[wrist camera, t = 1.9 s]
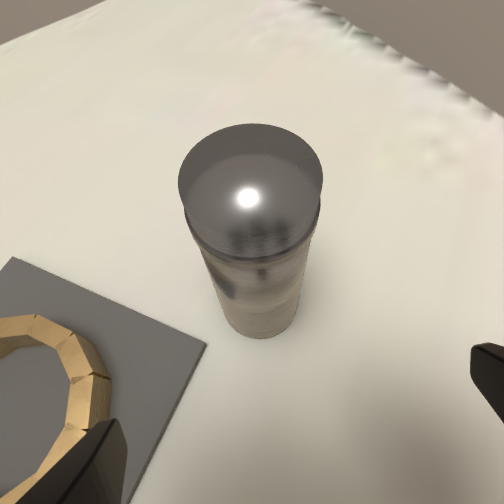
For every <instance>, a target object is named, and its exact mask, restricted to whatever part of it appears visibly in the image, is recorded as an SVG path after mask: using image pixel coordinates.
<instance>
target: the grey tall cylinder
mask: <svg viewBox="0 0 504 504" xmlns="http://www.w3.org/2000/svg"><path fill="white" fill-rule="evenodd" d="M322 183H323V172H322V167H321V164H320V161H319V159H318V157H317V155H316V153H315V152H314V151H313V149H312V148H311V147H310V146H309V145H308V144H307V143H306V142H305V141H304V140H303V139H301V138H300V137H299V136H297V135H295V134H294V133H292V132H290V131H288V130H285V129H283V128H280V127H276V126H272V125H266V124H241V125H234V126H231V127H227V128H224V129H221V130H218V131H216V132H214V133H212V134H210V135H209V136H207V137H205V138H204V139H202V140H201V141H200V142H199V143H197V144H196V145H195V146H194V147H193V148H192V149H191V151H190V152H189V153H188V154H187V156H186V157H185V159H184V161H183V163H182V165H181V168H180V172H179V176H178V189H179V194H180V198H181V200H182V203H183V206H184V212H185V217H186V221H187V224H188V226H189V229H190V231H191V234H192V236H193V238H194V240H195V242H196V243H197V245H198V246H199V248H200V251H201V253H202V256H203V259H204V261H205V264H206V266H207V269H208V272H209V274H210V277H211V280H212V282H213V285H214V288H215V290H216V293H217V296H218V298H219V301H220V303H221V306H222V309H223V311H224V314H225V317H226V319H227V321H228V322H229V324H230V325H231V326H232V328H234V329H235V330H236V331H237V332H238V333H240V334H242V335H244V336H246V337H249V338H254V339H266V338H270V337H273V336H276V335H278V334H279V333H281V332H283V331H284V330H285V329H286V328H287V327H288V326H289V325H290V323H291V322H292V320H293V318H294V316H295V313H296V308H297V304H298V299H299V294H300V289H301V285H302V280H303V275H304V270H305V266H306V261H307V256H308V251H309V247H310V242H311V238H312V236H313V234H314V232H315V229H316V226H317V221H318V217H319V212H320V194H321V190H322Z"/></svg>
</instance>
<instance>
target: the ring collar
mask: <svg viewBox="0 0 504 504" xmlns="http://www.w3.org/2000/svg"><path fill="white" fill-rule="evenodd" d="M43 345H49V346H51V347H53V348H54V349H56V350H57V352H58V354H59V357H60V359H61V361H62V363H63V366H64V368H65V370H66V372H67V375H68V377H69V379H70V381H71V383H70V391H69V398H68V406H67V414H66V421H65V427H64V428H63V430H62V432H61V433H60V435H59V437H58V438H57V440H56V442H55V443H54V445H53V446H52V448H51V450H50V451H49V453H48V455H47V456H46V458H45V460H44V461H43V463H42V464H41V466H40V468H39V469H38V471H37V472H36V473H35V474H33V475H32V476H31V477H29V478H28V479H26V480H25V481H24V482H22V483H21V484H20V485H18V486H17V487H15V488H14V489H13V490H11V491H10V492H8V493H7V494H6V495H4V496H3V497H2V498H0V504H15V503H16V502H17V501H18V500H19V499H20V498H21V497H22V496H23V495H24V494H25V493H26V492H27V491H28V490H29V489H30V488H31V487H32V486H33V485H34V484H35V483H36V482H37V481H38V480H39V479H40V478H41V477H42V476H43V475H44V474H45V473H46V472H47V471H48V470H50V469H51V468H52V467H53V466H54V465H55V464H56V463H57V462H58V461H59V460H60V459H61V458H62V457H63V456H64V455H65V454H66V453H67V452H68V451H69V450H70V449H71V448H72V447H73V446H74V445H75V444H76V443H77V442H78V441H79V440H80V439H81V438H82V437H83V436H84V435H85V434H86V433H87V432H88V431H89V430H90V429H91V428H92V427H93V426H94V425H96V424H97V423H98V422H99V421H101V420H105V419H109V414H110V402H111V389H112V381H110V379H111V376H110V374H109V372H108V370H107V368H106V366H105V364H104V362H103V360H102V358H101V356H100V354H99V352H98V350H97V348H96V346H95V344H94V343H92V341H90V340H88V339H86V338H84V337H82V336H80V335H78V334H76V333H75V332H73V331H71V330H69V329H66V328H64V327H62V326H60V325H58V324H56V323H54V322H52V321H50V320H48V319H46V318H44V317H42V316H40V315H36V314H31V315H22V316H14V317H5V318H0V359H2V358H3V357H5V356H7V355H8V354H10V353H11V352H13V351H15V350H16V349H18V348H26V347H34V346H43Z"/></svg>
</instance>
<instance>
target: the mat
mask: <svg viewBox="0 0 504 504" xmlns="http://www.w3.org/2000/svg"><path fill="white" fill-rule="evenodd" d="M31 314H36V315H40V316H42V317H44V318H46V319H48V320H50V321H52V322H54V323H56V324H58V325H60V326H62V327H64V328H66V329H69V330H71V331H73V332H75V333H76V334H78V335H80V336H82V337H84V338H86V339H88V340H90V341H92V343H94V344H95V346H96V348H97V350H98V352H99V354H100V356H101V358H102V360H103V362H104V364H105V366H106V368H107V370H108V372H109V374H110V376H111V379H110V381H112V389H111V402H110V414H109V419H110V418H117V419H118V420H119V422H120V424H121V427H122V430H123V433H124V436H125V439H126V442H127V446H128V455H127V463H126V470H125V477H124V485H123V492H122V499H121V504H129V502H130V500H131V498H132V496H133V494H134V492H135V489H136V487H137V485H138V483H139V481H140V479H141V477H142V475H143V473H144V471H145V469H146V467H147V465H148V463H149V461H150V459H151V457H152V455H153V453H154V451H155V449H156V447H157V445H158V443H159V441H160V439H161V437H162V435H163V433H164V431H165V429H166V427H167V425H168V423H169V420H170V418H171V416H172V414H173V412H174V410H175V408H176V406H177V404H178V402H179V400H180V398H181V396H182V394H183V392H184V390H185V388H186V386H187V384H188V382H189V380H190V378H191V376H192V374H193V372H194V370H195V368H196V366H197V364H198V362H199V360H200V358H201V356H202V354H203V351H204V349H205V347H206V343H204V342H202V341H200V340H198V339H195V338H193V337H191V336H189V335H187V334H184V333H182V332H180V331H178V330H175V329H173V328H171V327H169V326H167V325H164V324H162V323H160V322H158V321H155V320H153V319H151V318H149V317H146V316H144V315H142V314H140V313H138V312H135V311H133V310H131V309H129V308H126V307H124V306H122V305H120V304H118V303H115V302H113V301H111V300H109V299H106V298H104V297H102V296H100V295H98V294H95V293H93V292H91V291H89V290H86V289H84V288H82V287H80V286H77V285H75V284H73V283H71V282H69V281H66V280H64V279H62V278H60V277H57V276H55V275H53V274H51V273H49V272H46V271H44V270H42V269H40V268H37V267H35V266H33V265H31V264H29V263H26V262H24V261H22V260H20V259H17V258H15V257H13V256H12V258H11V259H10V260H9V261H8V262H7V263H6V265H5V266H4V267H3V268H2V269H1V271H0V318H5V317H14V316H22V315H31ZM70 383H71V381H70V379H69V377H68V375H67V372H66V370H65V368H64V366H63V363H62V361H61V359H60V357H59V354H58V352H57V350H56V349H54V348H53V347H51V346H49V345H43V346H34V347H26V348H18V349H16V350H15V351H13V352H11V353H10V354H8V355H7V356H5V357H3V358H2V359H0V498H2V497H3V496H4V495H6V494H7V493H8V492H10V491H11V490H13V489H14V488H15V487H17V486H18V485H20V484H21V483H22V482H24V481H25V480H26V479H28V478H29V477H31V476H32V475H33V474H35V473H36V472H37V471H38V469H39V468H40V466H41V464H42V463H43V461H44V460H45V458H46V456H47V455H48V453H49V451H50V450H51V448H52V446H53V445H54V443H55V442H56V440H57V438H58V437H59V435H60V433H61V432H62V430H63V428H64V427H65V421H66V414H67V406H68V398H69V391H70Z"/></svg>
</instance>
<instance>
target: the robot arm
mask: <svg viewBox="0 0 504 504" xmlns="http://www.w3.org/2000/svg"><path fill="white" fill-rule="evenodd" d="M470 375H471V378H472V380H473V382H474V384H475V385H476V386H477V388H478V389H479V390H480V392H481V393H482V395H483V396H484V397H485V399H486V400H487V401H488V403H489V404H490V405H491V407H492V408H493V409H494V411H495V412H496V414H497V415H498V416H499V418H500V419H501V420H502V422H503V423H504V347H503V346H500V345H497V344H493V343H482V344H477V345H474V346H473V347H472V348H471V359H470ZM127 455H128V446H127V442H126V439H125V436H124V433H123V430H122V427H121V424H120V422H119V420H118V419H117V418H110V419H105V420H101V421H99V422H98V423H97V424H96V425H94V426H93V427H92V428H91V429H90V430H89V431H88V432H87V433H86V434H85V435H84V436H83V437H82V438H81V439H80V440H79V441H78V442H77V443H76V444H75V445H74V446H73V447H72V448H71V449H70V450H69V451H68V452H67V453H66V454H65V455H64V456H63V457H62V458H61V459H60V460H59V461H58V462H57V463H56V464H55V465H54V466H53V467H52V468H51V469H50V470H48V471H47V472H46V473H45V474H44V475H43V476H42V477H41V478H40V479H39V480H38V481H37V482H36V483H35V484H34V485H33V486H32V487H31V488H30V489H29V490H28V491H27V492H26V493H25V494H24V495H23V496H22V497H21V498H20V499H19V500H18V501H17V502H16V503H15V504H121V499H122V492H123V485H124V477H125V470H126V463H127Z"/></svg>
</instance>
